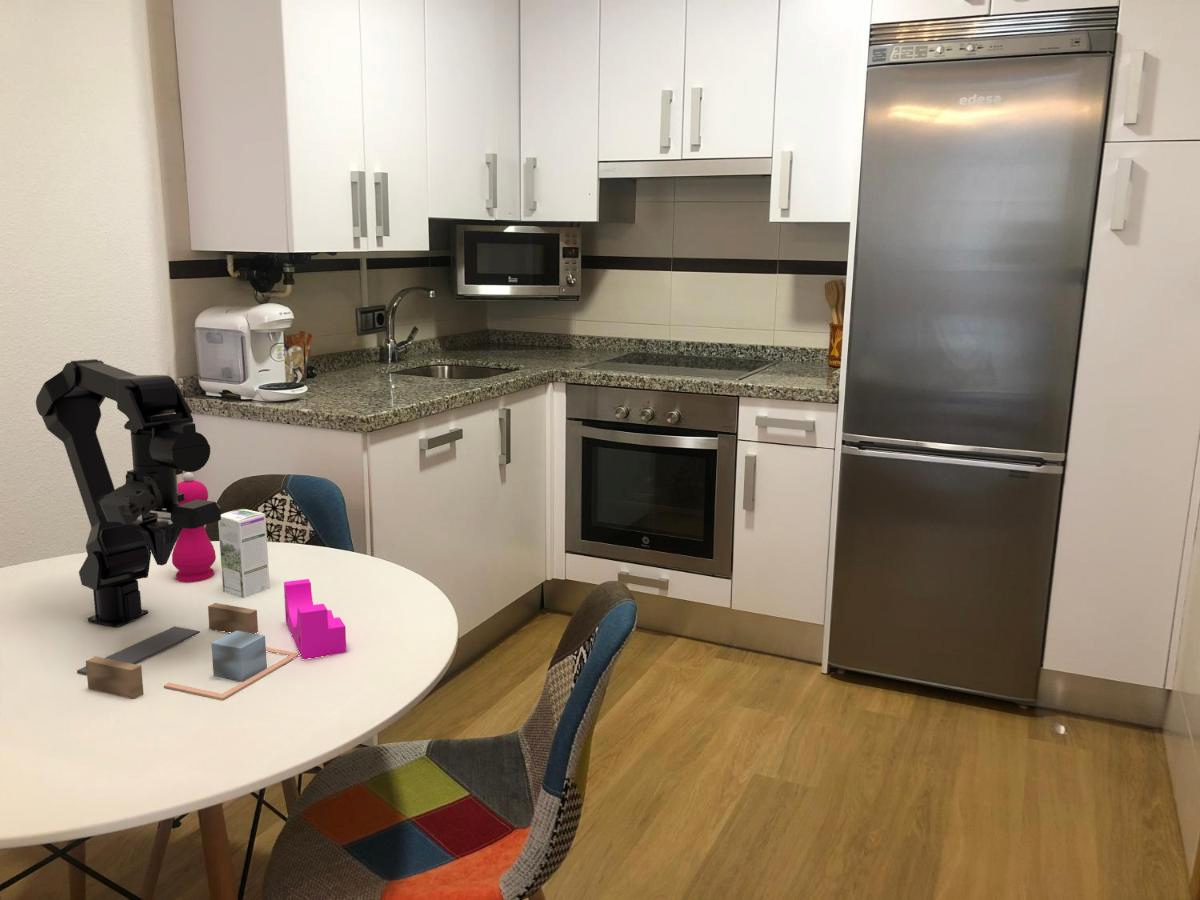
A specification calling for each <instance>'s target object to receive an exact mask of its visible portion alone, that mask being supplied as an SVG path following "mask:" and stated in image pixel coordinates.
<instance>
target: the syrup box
mask: <svg viewBox="0 0 1200 900" xmlns="http://www.w3.org/2000/svg"><path fill="white" fill-rule="evenodd" d="M266 521H267V520H266V513H264V512H260V511H256V510H255V511H254V510H250V509H246V508H240V509H233V510H231V511H227V512H224V513H222V514H221V520H219V521H217V523H218V537H219V550H220V565H221V579H222V591H223V592H224V593H227V594H230V595H233V596H236V597H239V598H242V599H245V598H247V597H251V596H253V595H256V594H258V593H261V592H263V591H267V590H268V589H270V588H271V584H270V569H269V553H268V537H267V522H266ZM255 593H256V594H255ZM250 595H251V596H250Z"/></svg>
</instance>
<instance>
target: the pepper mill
mask: <svg viewBox="0 0 1200 900" xmlns="http://www.w3.org/2000/svg"><path fill="white" fill-rule="evenodd" d="M182 476H183V477H182V478H183V481H179V482H177V487H178V493H183V494H184V498H185V500H184V501H180V502H178V505H181V504H184V503H187V502H191V501H194V500H205V501H208V499H209V492H208V489H207V486H206V485H205V484H204V483H203V482H201V481H198V480H196V479H195V476H194V474H193V472H185V473H184V474H183V475H182ZM194 479H195V480H194ZM171 557H172V558H171V562H172V565H173V566H174V567H175V568H176V569H177V570H178V571H176V573H175V579H176V581H177V582H180V583H186V584H187V583H188V584H189V583H198V582H203V581H206V580H208V579H211V578H212V577H214V575H215V572H214V571H215V570H214V569H213V568H212V566H213V565H214V563H215V562H216V560H217V559H216V558H217V555H216V550H215V548H214V545H213V543H212V542H211V539H210V538H209V535H208V534H207V530H206V525H204V526H201V527H198V528H193V529H188V528H183V529H182V531H181V533H180V534H179V536H178V538H177V541H176V543H175V545H174V547H173V550H172V552H171Z"/></svg>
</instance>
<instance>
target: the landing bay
mask: <svg viewBox="0 0 1200 900" xmlns="http://www.w3.org/2000/svg"><path fill="white" fill-rule="evenodd" d="M266 651H268V652H272V653H271V654H273V653H279V654H284V655H288V656H285V657H284V658H282V659H281V660H279V661H277V662H276V663H274V664H272V665H270V666H269V667H268V666H267V669H265V670H263V671H261V672H260V673H258V674H256V675H254V676H253V677H251V678H249V679H247V680H246V681H244V682H240V683H238V684H237V685H235V686H233V687H231V688H229V690H228V689H227V690H226V691H224V692H223V693H220V692H215V691H211V690H206V689H201V688H197V687H191V686H188V685H187V686H186V685H183V684H178V683H172V682H168V683H166V684H164V685H163V689H169V690H173V691H179V692H182V693H187V694H192V695H196V696H197V695H198V696H201V697H206V698H211V699H216V700H221V701H224V700H226V699H228V698H230V697H231V696H233V695H234V694H237V693H238V692H240V691H242V690H243V689H245V688H247V687H248V686H250V685H252V684H254V683H256V682H258V681H259V680H261V679H262V678H264V677H266V676H267V675H270V674H271V673H273V672H275V671H276V670H278V669H280V668H281V667H283V666H285V665H286V663H287V664H288V663H290V662H292V661H293V660H294V659H293V658H295V657H297V656H298V655H300V653H299V652H293V651H290V650H289V651H288V650H282V649H279V648H272V647H267V646H266ZM268 652H267V653H268ZM300 656H301V655H300ZM298 657H299V656H298ZM298 657H297V658H298ZM292 659H293V660H292ZM295 659H296V658H295ZM291 660H292V661H291ZM289 661H290V662H289ZM284 664H285V665H284Z"/></svg>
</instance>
